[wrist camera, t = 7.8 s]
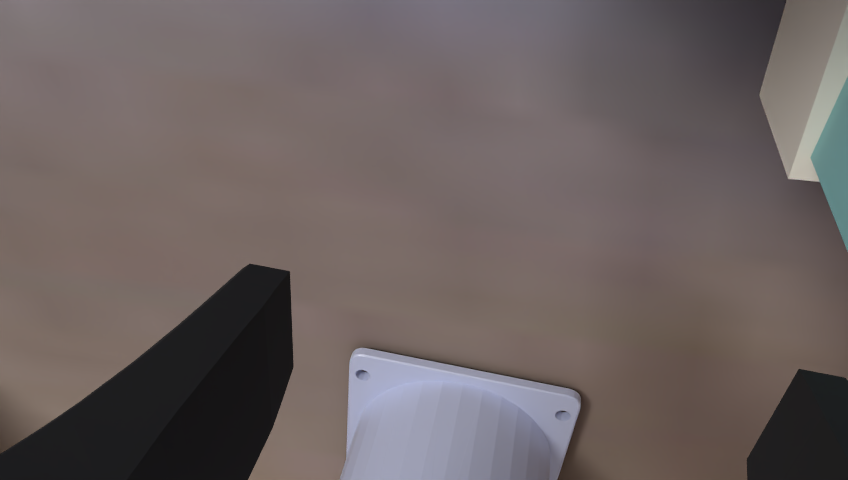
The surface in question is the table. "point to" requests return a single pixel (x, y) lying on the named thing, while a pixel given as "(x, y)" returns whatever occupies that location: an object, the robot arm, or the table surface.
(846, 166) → the teal cube
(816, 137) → the cream block
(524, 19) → the table surface
